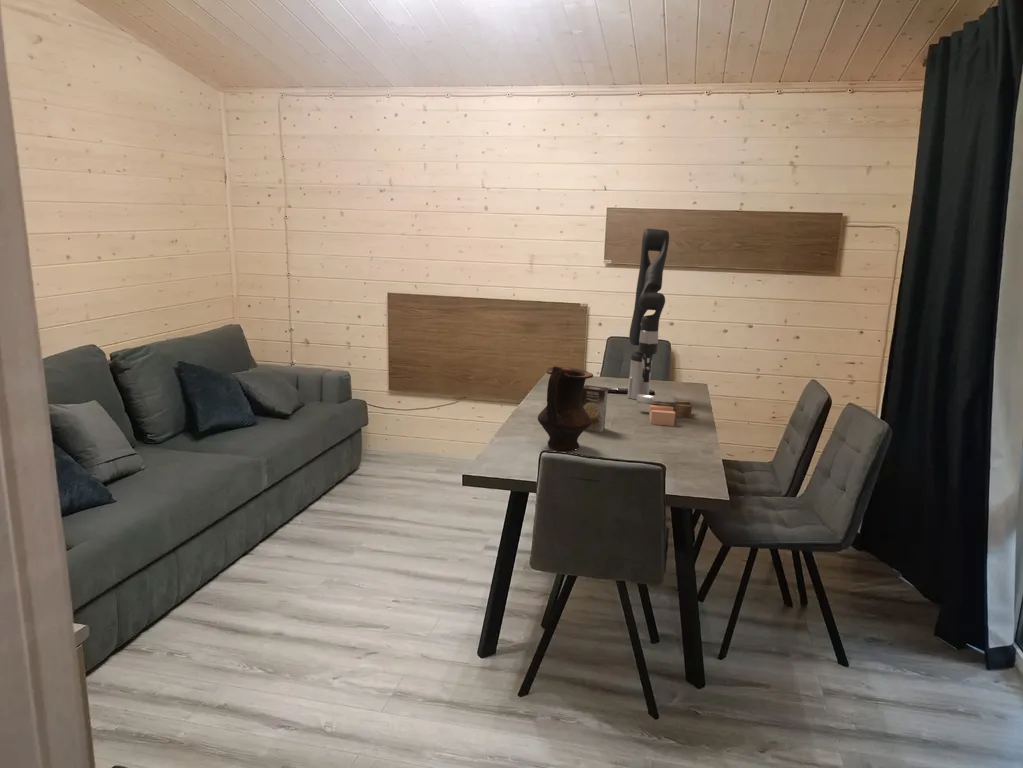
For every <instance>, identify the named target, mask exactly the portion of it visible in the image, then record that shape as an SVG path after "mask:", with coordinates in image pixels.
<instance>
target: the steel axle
mask: <svg viewBox="0 0 1023 768" xmlns="http://www.w3.org/2000/svg"><path fill="white" fill-rule="evenodd" d="M652 402H655V403H668V404H676V403H677V396H669V395H655V394H654V395H653V394H649V395H644V394H637V399H636V404H639V405H649V406H650V405H652Z"/></svg>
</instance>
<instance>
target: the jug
mask: <svg viewBox="0 0 1023 768" xmlns="http://www.w3.org/2000/svg"><path fill="white" fill-rule="evenodd" d="M546 373H547V374H548V375H550V376H549V379H548V384H547V389H546V395H547V396H546V406H545V407H544V408H543V409H542V410H541V411H540V413H538V416H537V422H538V423H539V424H540V425H541V427H542V428H543V429H544V431H545V432H546V433H547V435H548V437H549V439H548V441H547V446H548V447H549V448H550V449H553V450H557V451H561V452H571V451H570V450H575V449H577V450H579V449H580V444H579V442H578V440H579V437H580V436H581V435H582V433H583V432H584V431H586V430H585V429H586V428H588V427H589V426H590V425H591V419H590V417H589V415H588V413H587V412H586V410H585V409H584V408H583V406H582V402H581V398H582V394H583V388H584V386H585V385H586V384H585V383H586V380H587V379H592V378H593V377H594V374H593V373H592V372H589V371H587V370H583V369H579V368H574V367H570V366H569V367H568V366H558V365H555V364H554V366H552V367H549V368H548V369H547V370H546ZM578 448H579V449H578ZM575 451H576V450H575Z"/></svg>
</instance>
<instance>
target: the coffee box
mask: <svg viewBox="0 0 1023 768" xmlns="http://www.w3.org/2000/svg"><path fill="white" fill-rule="evenodd" d="M608 392H609V388H608V387H606V386H604V387H603V386H596V385H590V384H584V388H583V394H582V398H581V402H582V406H583V408H584V409H585V410H586V412H587V413H588V415H589V417H590V419H591V425H590V426H589V427H588V428H586V429H585V430H584V431H590V430H591V431H592V432H597V431H598V433H602V432H603V431H604V430H605V427H606V425H605V424H606V415H607V414H606V413H607V403H608V402H607V401H608V394H609V393H608Z"/></svg>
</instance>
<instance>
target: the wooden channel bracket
mask: <svg viewBox="0 0 1023 768" xmlns="http://www.w3.org/2000/svg"><path fill="white" fill-rule="evenodd" d="M652 405H657V406H670V407H673V411H675V418H681V417H682V418H684V419H691V418H692V410H693V406H692V404H691V402H690V401H689V400H688V401H687V400H677V403H676V404H668V403H655V402H652ZM682 418H681V419H682Z"/></svg>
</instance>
